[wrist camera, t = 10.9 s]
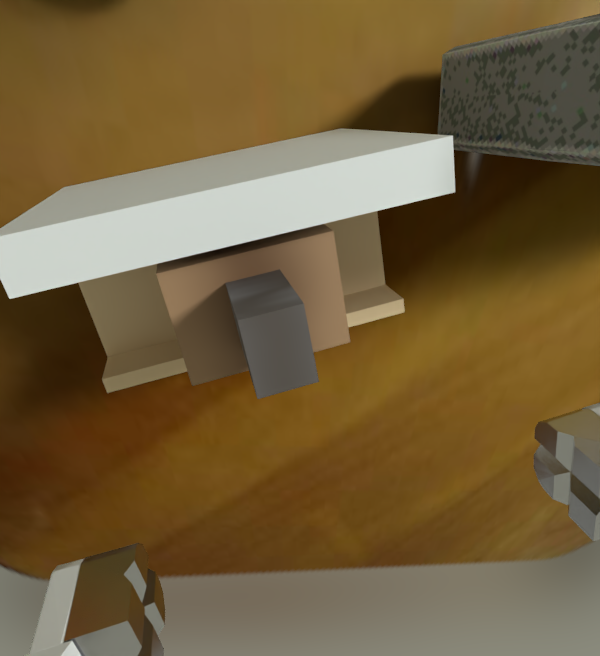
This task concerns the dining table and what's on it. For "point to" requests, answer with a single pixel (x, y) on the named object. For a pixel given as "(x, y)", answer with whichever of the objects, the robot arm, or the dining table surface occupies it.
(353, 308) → the white wooden bench shape
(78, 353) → the dining table surface
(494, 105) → the decorative stone tablet
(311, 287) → the block with grey handle
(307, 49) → the dining table surface
